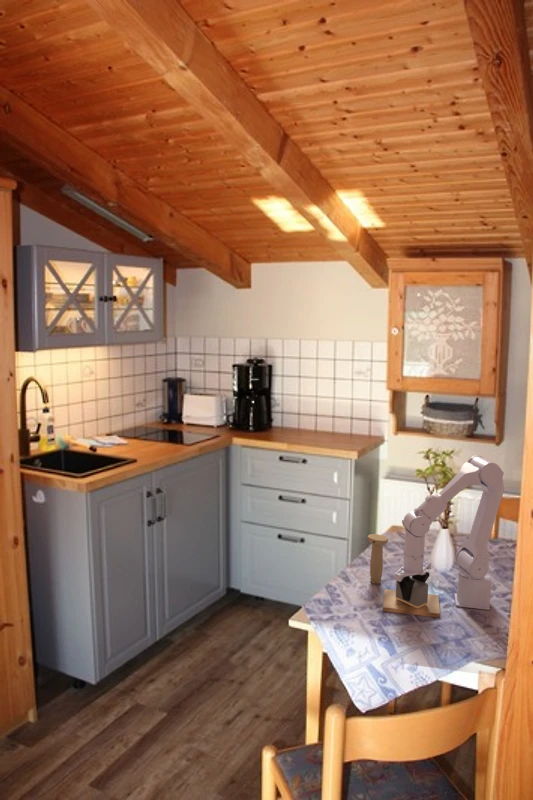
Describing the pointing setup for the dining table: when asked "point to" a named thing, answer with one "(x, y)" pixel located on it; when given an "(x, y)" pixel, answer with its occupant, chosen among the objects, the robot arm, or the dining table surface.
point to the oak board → (400, 607)
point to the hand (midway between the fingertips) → (411, 597)
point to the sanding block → (415, 594)
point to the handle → (376, 557)
